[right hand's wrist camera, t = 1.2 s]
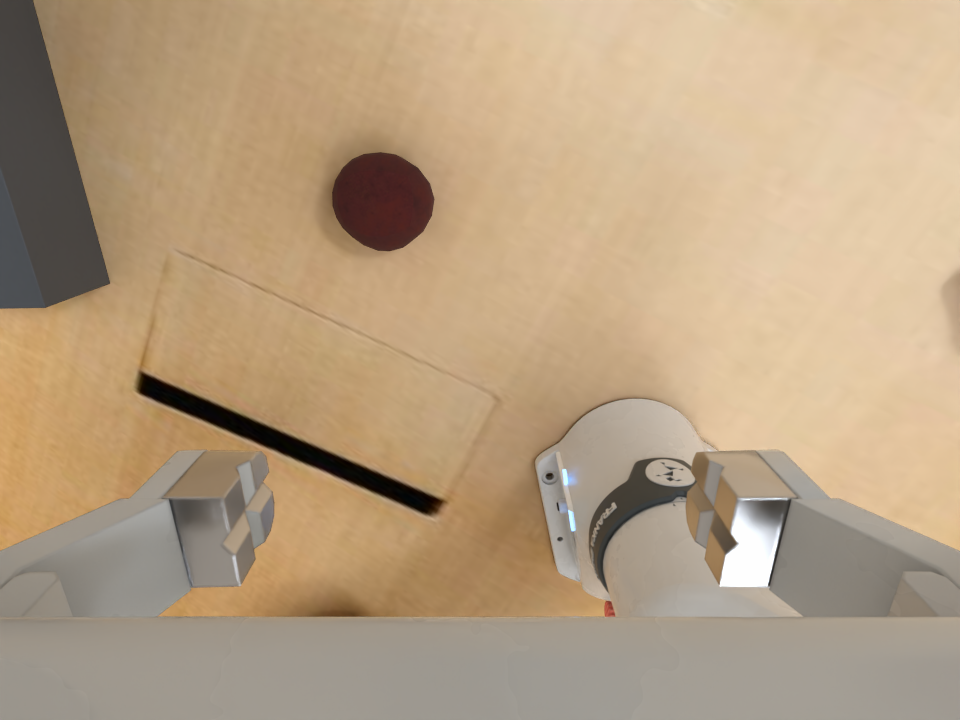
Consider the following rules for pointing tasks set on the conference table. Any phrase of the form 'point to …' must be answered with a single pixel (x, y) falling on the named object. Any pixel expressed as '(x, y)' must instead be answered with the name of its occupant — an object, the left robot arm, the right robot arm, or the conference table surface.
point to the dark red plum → (382, 201)
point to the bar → (39, 178)
